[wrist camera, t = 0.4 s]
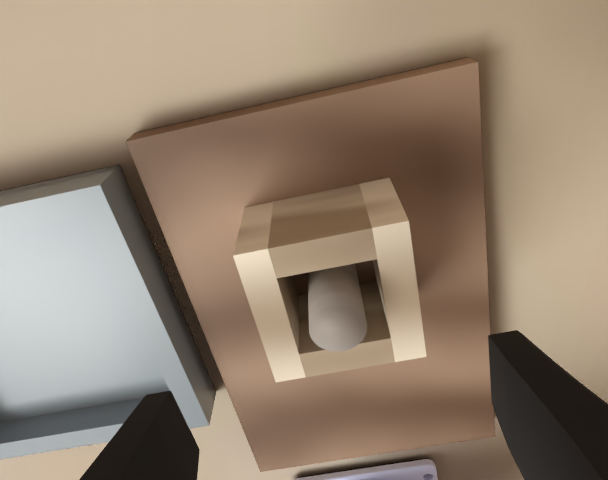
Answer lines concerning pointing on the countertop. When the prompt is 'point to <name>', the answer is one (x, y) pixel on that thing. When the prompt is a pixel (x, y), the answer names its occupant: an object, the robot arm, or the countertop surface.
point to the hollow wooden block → (323, 255)
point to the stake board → (317, 162)
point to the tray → (86, 317)
